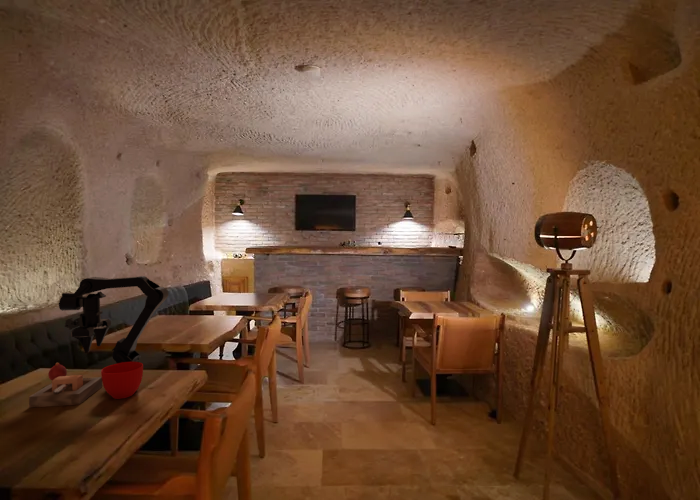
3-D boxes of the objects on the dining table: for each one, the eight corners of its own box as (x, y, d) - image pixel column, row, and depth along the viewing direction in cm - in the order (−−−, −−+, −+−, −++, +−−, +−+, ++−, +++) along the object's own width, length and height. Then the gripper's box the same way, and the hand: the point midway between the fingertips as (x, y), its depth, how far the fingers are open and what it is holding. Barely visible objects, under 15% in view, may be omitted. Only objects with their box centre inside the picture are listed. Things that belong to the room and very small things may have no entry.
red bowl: (157, 384, 152) (156, 358, 152) (128, 403, 135) (127, 374, 135) (125, 383, 153) (124, 357, 153) (93, 402, 136) (92, 373, 136)
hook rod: (80, 379, 148) (80, 374, 148) (58, 393, 135) (58, 389, 134) (76, 379, 148) (75, 375, 148) (53, 394, 134) (53, 389, 134)
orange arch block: (83, 389, 144) (82, 374, 144) (77, 394, 140) (76, 378, 140) (59, 391, 143) (58, 376, 143) (52, 396, 139) (51, 380, 139)
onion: (52, 381, 157) (51, 361, 156) (69, 379, 158) (68, 359, 158) (46, 386, 151) (45, 365, 151) (63, 384, 153) (63, 364, 153)
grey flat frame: (102, 386, 150) (102, 377, 150) (79, 404, 135) (79, 393, 134) (57, 389, 148) (57, 379, 148) (29, 407, 133) (28, 396, 132)
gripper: (82, 306, 164) (83, 343, 164) (54, 315, 145) (56, 357, 146) (111, 305, 165) (112, 342, 166) (87, 314, 147) (89, 356, 147)
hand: (93, 349), depth 156 cm, fingers open, 9 cm apart
